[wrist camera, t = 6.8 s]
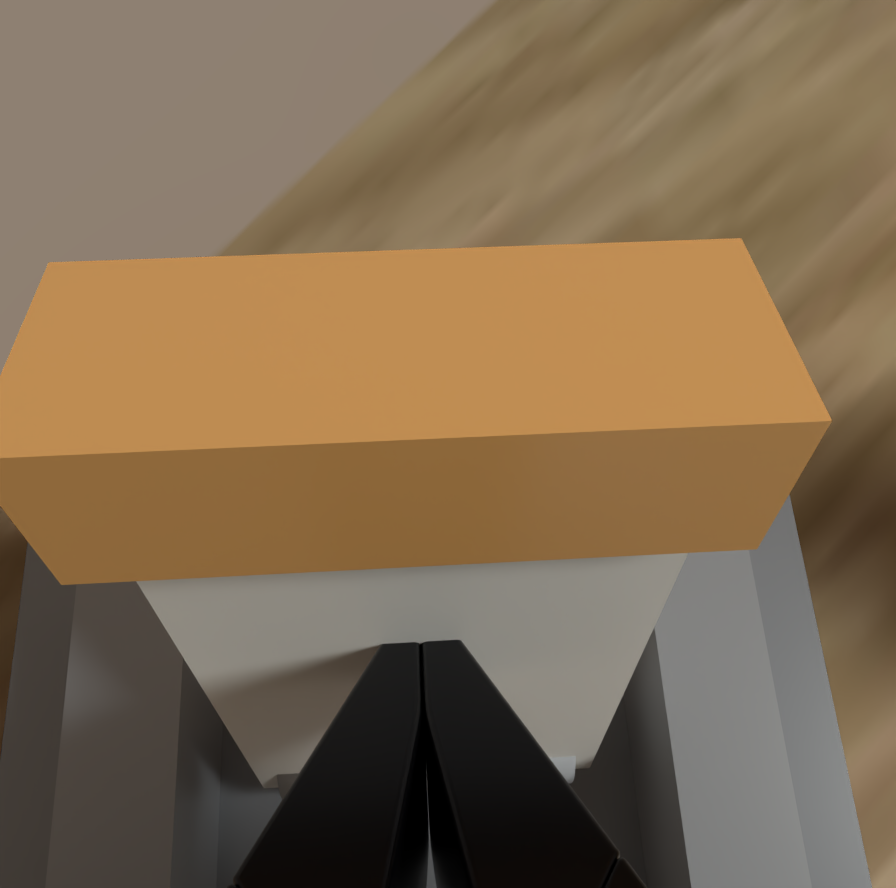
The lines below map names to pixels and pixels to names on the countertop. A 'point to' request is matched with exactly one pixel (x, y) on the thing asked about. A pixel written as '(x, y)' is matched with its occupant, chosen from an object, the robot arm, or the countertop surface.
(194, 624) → the lever
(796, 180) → the countertop surface
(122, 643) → the block
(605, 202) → the countertop surface
